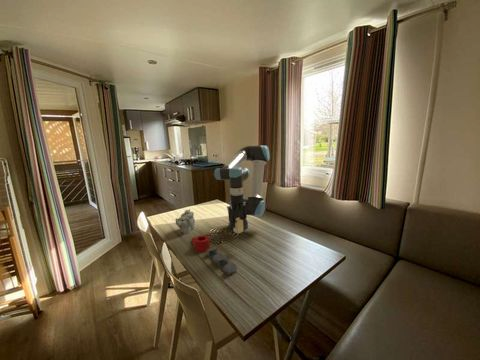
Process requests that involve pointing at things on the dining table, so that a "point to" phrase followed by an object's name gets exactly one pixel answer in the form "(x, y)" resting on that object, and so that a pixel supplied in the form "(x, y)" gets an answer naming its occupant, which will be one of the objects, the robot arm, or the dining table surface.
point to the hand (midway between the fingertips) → (238, 230)
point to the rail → (221, 261)
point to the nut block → (239, 225)
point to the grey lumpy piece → (186, 222)
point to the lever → (201, 243)
